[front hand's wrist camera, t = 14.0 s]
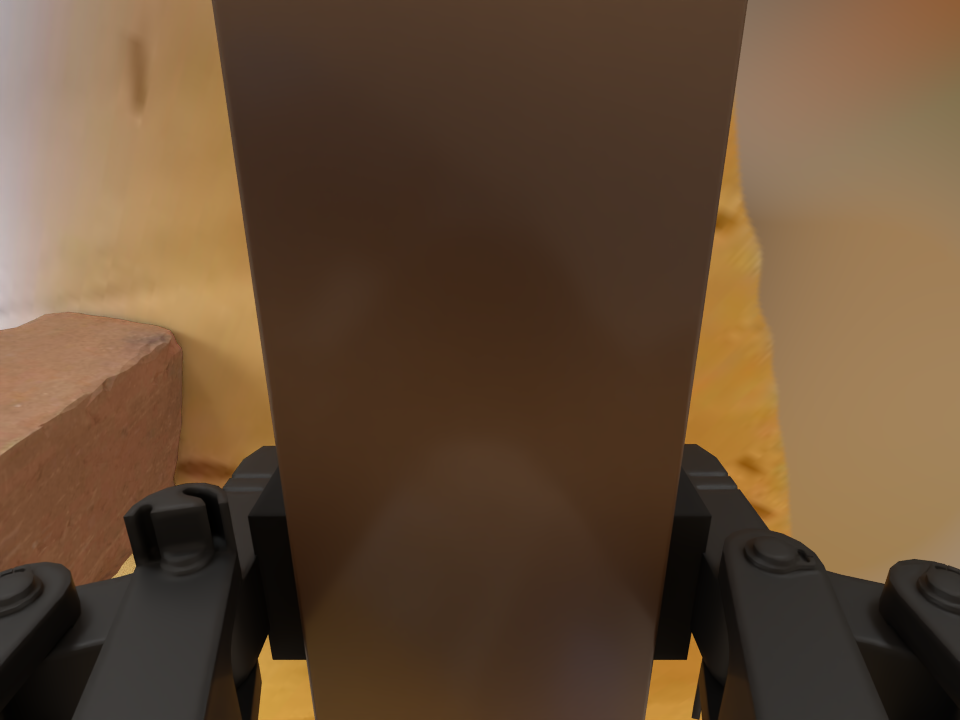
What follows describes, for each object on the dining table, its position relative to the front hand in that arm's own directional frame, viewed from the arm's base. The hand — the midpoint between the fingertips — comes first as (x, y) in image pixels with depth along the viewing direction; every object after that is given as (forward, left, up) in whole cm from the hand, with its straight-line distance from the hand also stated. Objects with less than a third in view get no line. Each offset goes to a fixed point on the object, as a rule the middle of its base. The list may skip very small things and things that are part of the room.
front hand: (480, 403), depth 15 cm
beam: (+25, 0, -1) cm, 25 cm away
